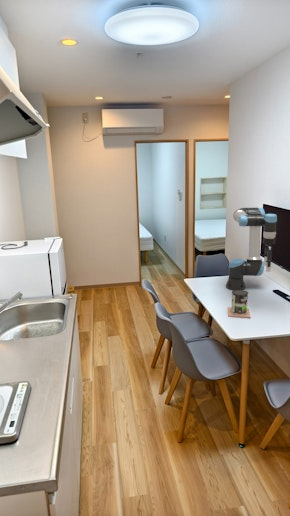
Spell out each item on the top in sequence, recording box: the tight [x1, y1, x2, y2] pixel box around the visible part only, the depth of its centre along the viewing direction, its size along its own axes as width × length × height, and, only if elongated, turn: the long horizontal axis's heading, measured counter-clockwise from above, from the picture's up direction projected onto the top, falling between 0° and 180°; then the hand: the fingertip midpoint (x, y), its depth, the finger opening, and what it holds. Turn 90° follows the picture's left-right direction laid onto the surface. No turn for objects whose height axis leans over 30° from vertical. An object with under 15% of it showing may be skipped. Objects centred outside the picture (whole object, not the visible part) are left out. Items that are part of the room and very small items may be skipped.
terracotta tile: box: [227, 306, 251, 319], centre depth 231 cm, size 14×14×1 cm
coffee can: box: [230, 289, 249, 315], centre depth 229 cm, size 10×10×14 cm
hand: (266, 268), depth 232 cm, fingers open, 13 cm apart
